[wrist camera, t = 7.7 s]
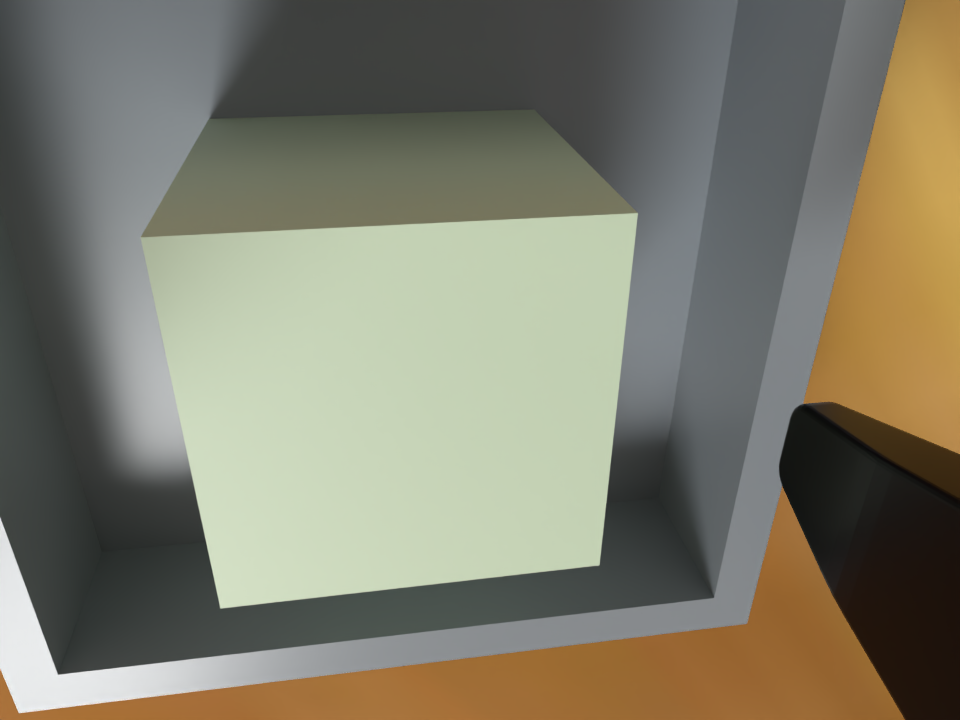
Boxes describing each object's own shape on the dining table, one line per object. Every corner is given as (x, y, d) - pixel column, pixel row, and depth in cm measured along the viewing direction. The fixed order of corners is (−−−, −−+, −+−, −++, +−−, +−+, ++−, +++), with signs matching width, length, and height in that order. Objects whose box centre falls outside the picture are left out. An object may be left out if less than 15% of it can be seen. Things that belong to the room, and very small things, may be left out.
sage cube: (534, 109, 13) (638, 212, 8) (523, 378, 15) (599, 565, 11) (209, 118, 12) (140, 237, 8) (253, 399, 14) (221, 607, 10)
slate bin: (799, -177, 12) (957, -206, 9) (678, 505, 18) (746, 623, 15) (-170, -211, 10) (-387, -260, 7) (76, 564, 16) (19, 712, 13)
